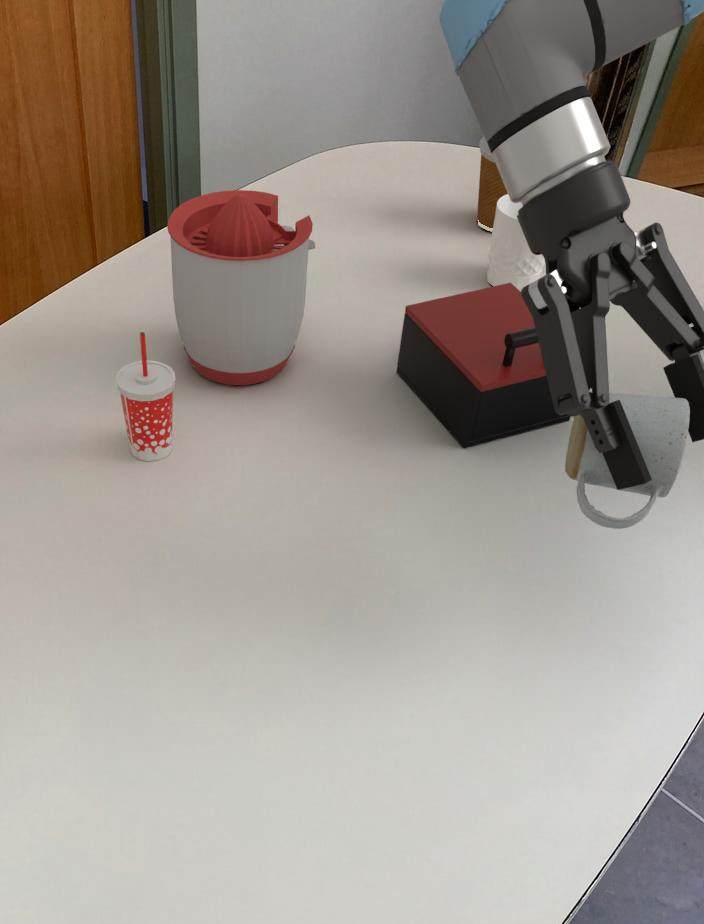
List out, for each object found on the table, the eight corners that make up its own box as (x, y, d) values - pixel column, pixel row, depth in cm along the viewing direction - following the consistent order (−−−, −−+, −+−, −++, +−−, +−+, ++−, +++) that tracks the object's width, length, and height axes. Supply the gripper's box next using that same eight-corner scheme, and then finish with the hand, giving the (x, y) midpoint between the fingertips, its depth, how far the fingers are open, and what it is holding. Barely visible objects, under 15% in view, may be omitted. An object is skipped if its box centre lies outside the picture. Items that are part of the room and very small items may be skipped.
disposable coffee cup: (539, 215, 142) (560, 128, 133) (524, 245, 137) (545, 156, 128) (474, 203, 145) (490, 117, 136) (457, 232, 139) (472, 144, 130)
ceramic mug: (562, 442, 85) (586, 366, 79) (661, 457, 84) (693, 381, 78) (556, 525, 78) (582, 448, 73) (664, 542, 77) (699, 465, 71)
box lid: (593, 364, 104) (605, 326, 101) (481, 392, 101) (489, 354, 98) (509, 288, 114) (517, 252, 111) (404, 312, 111) (410, 275, 108)
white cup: (531, 302, 127) (550, 226, 119) (473, 286, 130) (487, 211, 122) (550, 274, 131) (569, 200, 124) (493, 260, 134) (509, 186, 127)
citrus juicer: (342, 364, 118) (358, 197, 103) (222, 414, 112) (221, 244, 96) (264, 307, 127) (269, 145, 111) (149, 351, 120) (137, 185, 105)
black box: (569, 420, 110) (588, 360, 105) (463, 449, 107) (476, 387, 101) (495, 348, 120) (509, 289, 114) (395, 372, 117) (404, 312, 111)
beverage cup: (190, 450, 107) (185, 335, 97) (144, 473, 105) (134, 358, 94) (156, 423, 111) (149, 310, 100) (111, 445, 108) (98, 330, 97)
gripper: (615, 166, 81) (713, 419, 85) (428, 248, 73) (546, 525, 76) (693, 119, 74) (796, 396, 78) (496, 203, 66) (623, 509, 69)
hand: (673, 460), depth 77 cm, fingers closed on ceramic mug, 9 cm apart
